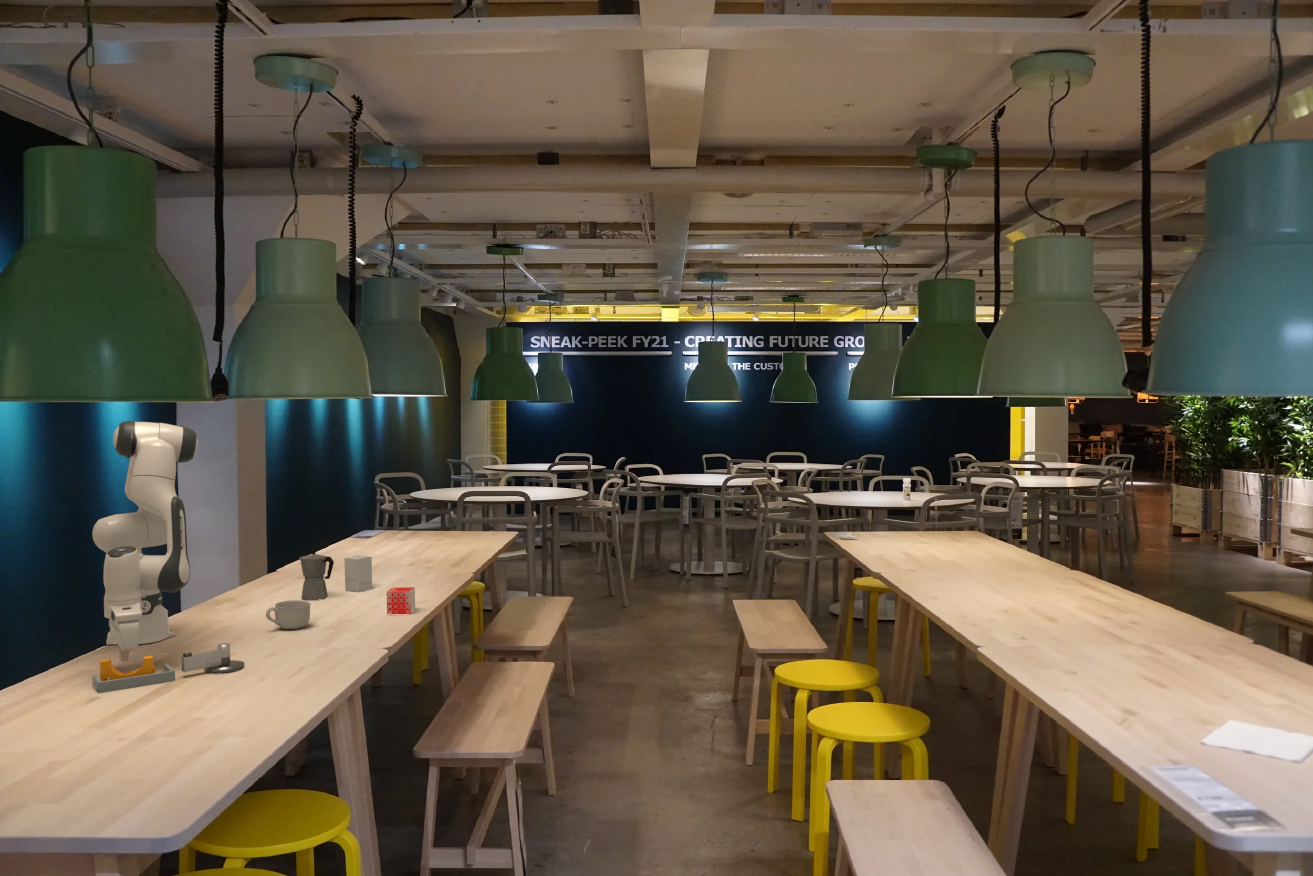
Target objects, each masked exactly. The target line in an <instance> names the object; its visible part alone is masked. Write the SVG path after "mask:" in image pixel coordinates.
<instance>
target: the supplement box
mask: <svg viewBox="0 0 1313 876" xmlns="http://www.w3.org/2000/svg"><path fill="white" fill-rule="evenodd" d="M372 559H373V558H372V556H369V555H367V556H366V555H354V556H347V557H344V559H343V561H344V589H345V591H346V592H354V591H355V592H354V593H360V591H361V592H366V591H369V590H372V589H373V568H372V567H373V566H372V562H373V561H372Z"/></svg>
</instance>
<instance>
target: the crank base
mask: <svg viewBox="0 0 1313 876" xmlns="http://www.w3.org/2000/svg"><path fill="white" fill-rule="evenodd" d="M244 668H245V662H244V661H242V660H236V659H232V660H231V659H230V665H226V666H219V665H218V666H213V667H208V668H203V669H204V672H205V673H206V672H207V674H211V673H214V675H218V674H217V673H222V674H230V673H235V672H239V671H241V670H243V669H244ZM238 670H239V671H238Z"/></svg>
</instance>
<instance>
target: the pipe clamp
mask: <svg viewBox="0 0 1313 876" xmlns="http://www.w3.org/2000/svg"><path fill="white" fill-rule="evenodd" d="M154 660H155V659H154V655H148V656H147V655H145V656H144V657H143V659H142V665H141V666H140V667H139V668H136V669H135V670H129V671H127V672H122V671H120V670H118V669H117V668H115V666H114V665H113V663H112V658H104V659H101V660H100V662H99V668H100V669H99V671H100V672H99V673H100V675H99V676H100V677H99V678H100V680H101V681H108V680H115V679H121V678H128V677H134V676H140V675H147V674H153V673H156V666H155V661H154ZM107 678H108V679H107Z"/></svg>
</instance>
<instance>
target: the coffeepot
mask: <svg viewBox="0 0 1313 876" xmlns="http://www.w3.org/2000/svg"><path fill="white" fill-rule="evenodd" d="M316 552H317V549H315V548H312V549H311V554H308V555H303V556H299V557H298V559H299V561H300V565H301V571H302V576H303V577H304V581H303V585H302V592H301V598H300V599H301V600H302V601H320V600H319V599H321V600H325V599H327V598H328V597H329V595H328V589H327V585H326V580H329V579H331V575H332V572H333V568H334V563H335V561H334V559H333V558H332V557H331V556H327V555H321V554H317V553H316ZM327 562H328V568H327ZM326 568H327V572H326ZM326 574H327V575H326ZM325 575H326V576H325Z"/></svg>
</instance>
